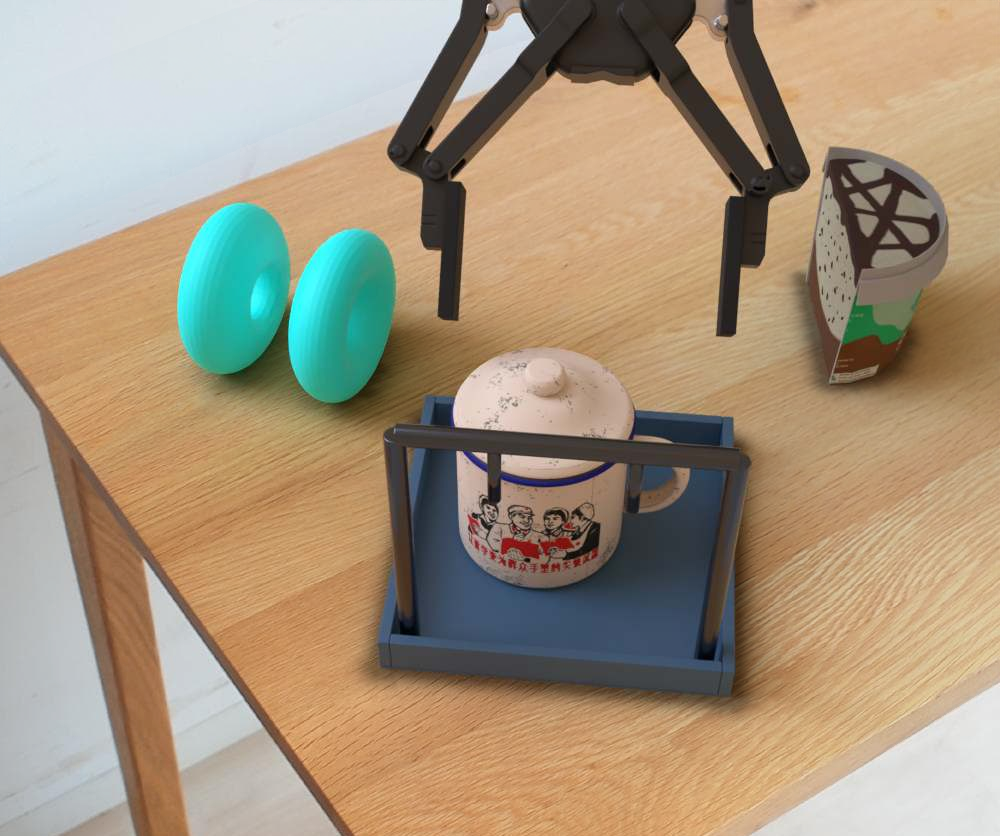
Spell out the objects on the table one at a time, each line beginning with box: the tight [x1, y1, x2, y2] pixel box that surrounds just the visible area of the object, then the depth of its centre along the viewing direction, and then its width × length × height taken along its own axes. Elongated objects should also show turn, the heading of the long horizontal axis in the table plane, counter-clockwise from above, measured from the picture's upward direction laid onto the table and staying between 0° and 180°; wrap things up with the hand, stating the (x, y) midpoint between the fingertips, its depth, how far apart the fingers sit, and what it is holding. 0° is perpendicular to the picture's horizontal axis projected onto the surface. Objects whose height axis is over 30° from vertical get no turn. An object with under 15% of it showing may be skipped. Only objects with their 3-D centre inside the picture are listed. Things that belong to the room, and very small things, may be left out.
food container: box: [805, 145, 950, 386], centre depth 85 cm, size 12×6×10 cm, turn 0°
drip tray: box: [376, 394, 736, 698], centre depth 76 cm, size 17×17×3 cm
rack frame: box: [382, 422, 753, 661], centre depth 66 cm, size 15×1×16 cm, turn 84°
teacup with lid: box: [451, 346, 690, 588], centre depth 73 cm, size 12×9×12 cm
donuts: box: [176, 202, 397, 404], centre depth 83 cm, size 10×10×10 cm
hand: (585, 328), depth 71 cm, fingers open, 13 cm apart
